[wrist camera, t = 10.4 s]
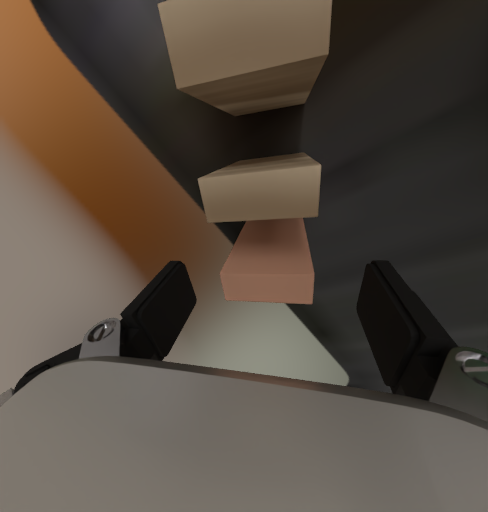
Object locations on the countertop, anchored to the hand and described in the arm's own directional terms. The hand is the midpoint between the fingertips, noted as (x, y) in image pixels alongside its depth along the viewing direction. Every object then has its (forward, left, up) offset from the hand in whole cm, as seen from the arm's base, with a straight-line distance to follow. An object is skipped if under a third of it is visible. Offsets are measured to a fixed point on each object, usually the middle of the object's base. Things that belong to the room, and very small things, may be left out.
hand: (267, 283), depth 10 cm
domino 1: (-9, 0, -9) cm, 13 cm away
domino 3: (+1, 0, -9) cm, 9 cm away
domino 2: (-4, 0, -9) cm, 10 cm away
